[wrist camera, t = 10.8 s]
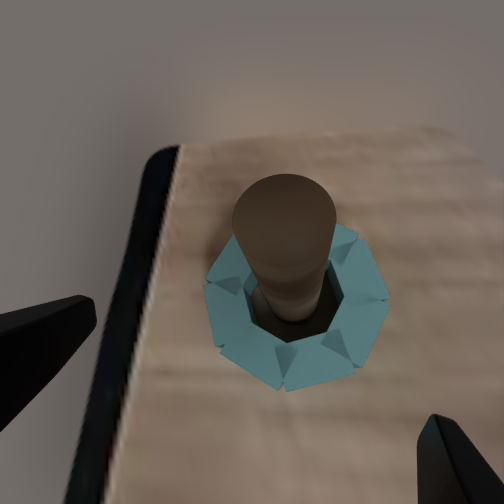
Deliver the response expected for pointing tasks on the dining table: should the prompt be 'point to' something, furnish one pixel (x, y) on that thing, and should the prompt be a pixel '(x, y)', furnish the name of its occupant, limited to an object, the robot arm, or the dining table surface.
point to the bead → (308, 349)
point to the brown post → (286, 241)
